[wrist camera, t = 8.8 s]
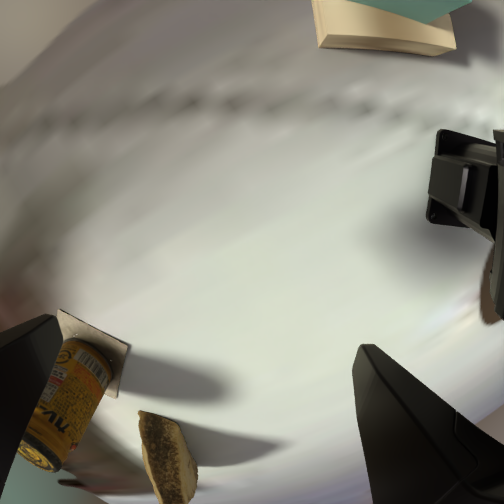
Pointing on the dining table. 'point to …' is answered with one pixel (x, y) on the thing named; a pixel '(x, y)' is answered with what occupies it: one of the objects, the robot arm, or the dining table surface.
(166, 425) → the rock
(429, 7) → the teal cube
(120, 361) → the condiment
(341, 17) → the beech block
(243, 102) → the dining table surface
